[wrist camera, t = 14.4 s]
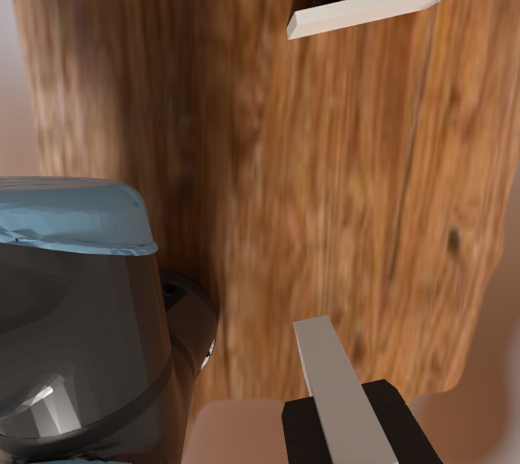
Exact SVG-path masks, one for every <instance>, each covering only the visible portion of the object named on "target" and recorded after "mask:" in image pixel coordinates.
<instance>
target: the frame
mask: <svg viewBox="0 0 520 464" xmlns="http://www.w3.org/2000/svg"><path fill="white" fill-rule="evenodd" d="M439 1H440V0H345V1H340V2H336V3H331V4H327V5H322V6H318V7H314V8H309V9H305V10H300V11H296V12H295V13H294V15H293V17H292V19H291V21H290V23H289V25H288V26H287V28H286V29H287V35H288V40H290V39H295V38H299V37H304V36H308V35H313V34H317V33H322V32H326V31H331V30H335V29H339V28H344V27H348V26H353V25H357V24H362V23H366V22H371V21H375V20H380V19H384V18H388V17H393V16H397V15H402V14H406V13H411V12H415V11H420V10H424V9H427V8H429V7H431V6H432V5H434V4H435V3H437V2H439Z"/></svg>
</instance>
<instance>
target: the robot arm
mask: <svg viewBox="0 0 520 464" xmlns="http://www.w3.org/2000/svg"><path fill="white" fill-rule="evenodd" d="M156 251H158V245H157V243H156V241H154V240H153V236H152V232H151V228H150V223H149V219H148V214H147V210H146V205H145V202H144V200H143V198H142V197H141V195H140V194H139V193H138V192H137V191H136V190H135V189H134V188H133V187H131V186H129V185H128V184H125V183H123V182H119V181H115V180H109V179H97V178H82V177H41V176H37V177H36V176H14V177H13V176H11V177H0V464H181V461H182V454H183V448H184V442H185V436H186V430H187V423H188V417H189V411H190V405H191V398H192V392H193V386H194V380H195V379H196V377H197V376H198V374H199V373H200V371H201V368H202V367H203V366H204V365H205V364H206V362H207V361H208V359H209V357H210V356H211V354H212V351H213V348H214V346H215V341H216V334H217V316H216V312H215V308H214V306H213V304H212V302H211V300H210V298H209V297H208V295H207V294H206V293H205V291H204V290H203V289H202V288H201V287H200V286H199V285H198V284H196V283H195V282H194V281H192V280H191V279H189V278H187V277H186V276H184V275H181V274H179V273H176V272H173V271H170V270H165V269H159V267H158V260H157V254H156ZM293 324H294V329H295V334H296V339H297V343H298V348H299V353H300V358H301V362H302V367H303V372H304V376H305V379H306V383H307V387H308V390H309V394H310V397H307V398H302V399H298V400H293V401H289V402H285V405H284V409H283V412H282V423H283V430H284V436H285V442H286V448H287V454H288V461H289V464H443V462H442V461H441V460H440V459H439V457H438V455H437V454H436V452H435V451H434V449H433V447H432V445H431V444H430V442H429V441H428V439H427V437H426V436H425V434H424V432H423V431H422V429H421V428H420V426H419V424H418V423H417V421H416V420H415V418H414V416H412V413H411V411H410V410H409V408H408V406H407V405H406V404H405V401H404V400H403V398H402V397H401V395H400V393H399V392H398V390H397V389H396V388H395V387H394V386H392V385H391V384H390V383H389V382H387V381H386V380H385V379H382V380H378V381H373V382H369V383H364V384H360V382H359V380H358V378H357V376H356V374H355V371H354V369H353V367H352V365H351V363H350V361H349V359H348V357H347V355H346V353H345V351H344V349H343V347H342V345H341V343H340V340H339V338H338V336H337V334H336V332H335V330H334V328H333V326H332V324H331V322H330V320H329V318H328V316H327V315H324V316H319V317H315V318H311V319H306V320H302V321H297V322H293Z"/></svg>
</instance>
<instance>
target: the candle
mask: <svg viewBox="0 0 520 464" xmlns="http://www.w3.org/2000/svg"><path fill="white" fill-rule="evenodd" d="M340 1H345V0H313V3H314V5H315V6H316V7H318V6H322V5H327V4H331V3H336V2H340Z"/></svg>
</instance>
